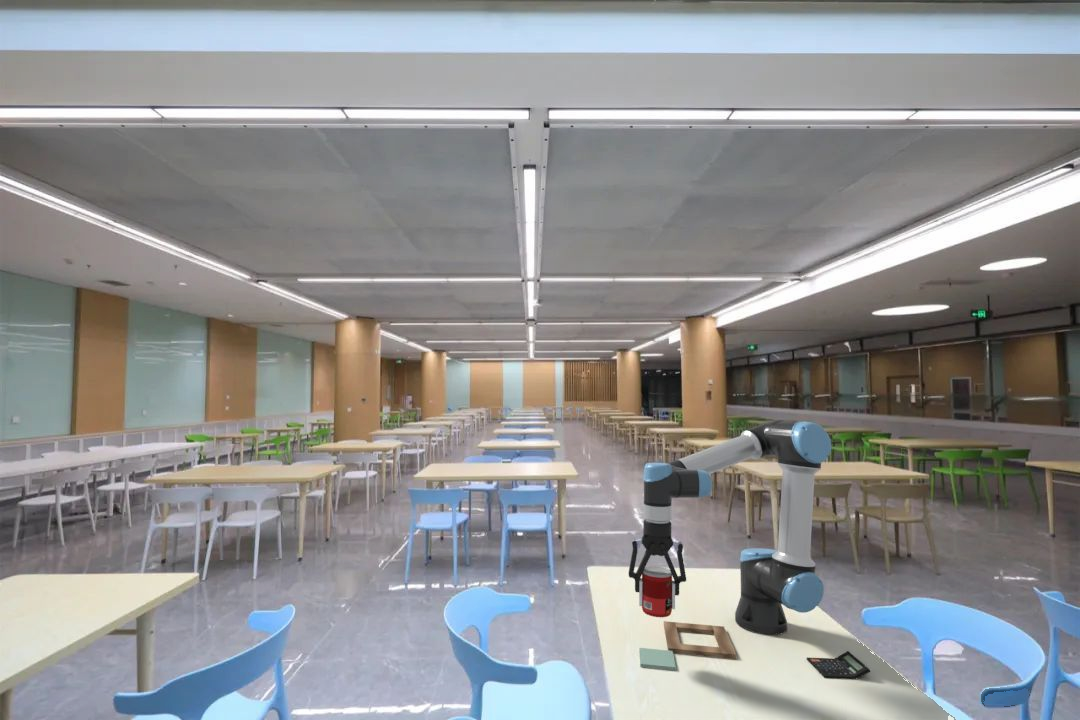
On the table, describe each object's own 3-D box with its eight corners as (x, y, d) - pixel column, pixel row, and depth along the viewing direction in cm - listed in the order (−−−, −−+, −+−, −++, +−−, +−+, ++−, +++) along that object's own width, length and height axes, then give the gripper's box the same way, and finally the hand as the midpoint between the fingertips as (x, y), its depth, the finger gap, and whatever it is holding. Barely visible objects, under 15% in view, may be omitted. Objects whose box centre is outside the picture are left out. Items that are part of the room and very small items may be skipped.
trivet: (672, 653, 142) (672, 650, 142) (675, 670, 134) (675, 667, 134) (639, 650, 144) (639, 647, 144) (640, 666, 135) (640, 663, 135)
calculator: (806, 660, 141) (806, 649, 141) (849, 662, 141) (849, 650, 141) (824, 679, 132) (824, 666, 132) (870, 680, 131) (870, 668, 131)
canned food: (672, 619, 135) (672, 576, 136) (641, 616, 137) (642, 573, 138) (671, 608, 143) (671, 567, 144) (641, 605, 144) (642, 564, 145)
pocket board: (723, 630, 158) (723, 626, 158) (736, 659, 140) (736, 654, 140) (663, 625, 161) (663, 621, 161) (668, 652, 143) (668, 648, 143)
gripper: (694, 519, 144) (694, 603, 142) (619, 514, 147) (618, 597, 145) (698, 525, 136) (698, 614, 134) (619, 520, 140) (617, 607, 138)
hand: (656, 605), depth 140 cm, fingers closed on canned food, 8 cm apart
